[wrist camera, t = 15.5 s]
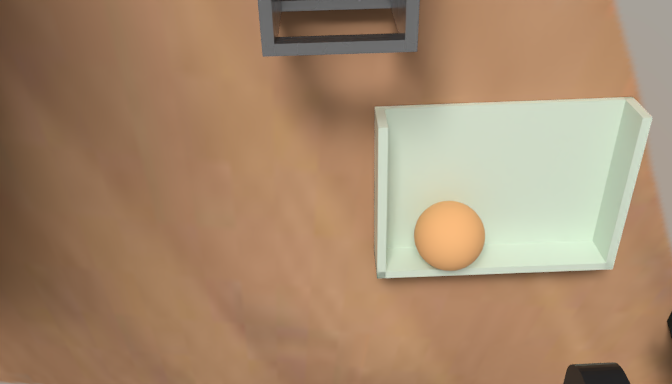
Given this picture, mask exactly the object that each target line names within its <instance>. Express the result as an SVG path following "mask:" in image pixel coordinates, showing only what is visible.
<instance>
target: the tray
mask: <svg viewBox="0 0 672 384" xmlns="http://www.w3.org/2000/svg"><path fill="white" fill-rule="evenodd" d="M652 118H653V117H652V116H651V115H650V114H649V113H648V112H647V111H646V110H645V109H644V108H643V107H642V106H641V105H640V104H639V103H638V102H637V101H636V100H635V99H634V98H633V97H618V98H591V99H564V100H538V101H511V102H484V103H458V104H431V105H404V106H378V107H375V143H374V256H375V264H376V273H377V278H402V277H427V276H453V275H478V274H504V273H530V272H555V271H581V270H606V269H613V266H614V262H615V258H616V254H617V251H618V247H619V243H620V239H621V236H622V232H623V228H624V224H625V221H626V217H627V213H628V209H629V205H630V202H631V198H632V194H633V190H634V187H635V183H636V179H637V175H638V171H639V168H640V164H641V160H642V156H643V153H644V149H645V145H646V141H647V137H648V134H649V130H650V126H651V122H652ZM442 201H456V202H460V203H463V204H465V205H467V206H469V207H470V208H472V209H473V210H474V211H475V212H476V213H477V215H478V216H479V217H480V219H481V221H482V223H483V226H484V230H485V242H484V246H483V249H482V251H481V253H480V255H479V256H478V258H477V259H476V260H475V261H474V262H473V263H472V264H470V265H469V266H467V267H465V268H463V269H460V270H455V271H445V270H440V269H437V268H435V267H433V266H431V265H430V264H428V263H427V262H426V261H425V260H424V259H423V258H422V257H421V256H420V254H419V252H418V250H417V248H416V245H415V241H414V230H415V226H416V223H417V220H418V218H419V217H420V215H421V214H422V213H423V212H424V211H425V210H426V209H427V208H428V207H430V206H432V205H433V204H436V203H438V202H442Z"/></svg>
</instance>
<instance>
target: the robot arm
mask: <svg viewBox="0 0 672 384" xmlns="http://www.w3.org/2000/svg"><path fill="white" fill-rule="evenodd" d="M564 384H630V382H629V380H628V378H627V376H626V374H625V373H624V371H623V369H622V368H621V367H620V366H619V365H618V364H617V363H592V364H572V365H570V366H569V367H568V368H567V371H566V375H565V379H564Z"/></svg>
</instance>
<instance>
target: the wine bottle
mask: <svg viewBox="0 0 672 384" xmlns="http://www.w3.org/2000/svg"><path fill="white" fill-rule="evenodd" d="M667 322H668V326H669V330H670V334H671V337H672V313H671V315H670V317H669V319H668V321H667Z"/></svg>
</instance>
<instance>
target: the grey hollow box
mask: <svg viewBox="0 0 672 384" xmlns="http://www.w3.org/2000/svg"><path fill="white" fill-rule="evenodd" d="M419 3H420V0H258V8H259V20H260V31H261V42H262V53H263V56H293V55H325V54H357V53H389V52H417V44H418V24H419ZM379 8H391V11H392V14H393V17H394V20H395V23H396V26H397V29H398V33H393V34H361V35H329V36H297V37H278V34H279V27H280V20H281V13H282V11H314V10H347V9H379Z"/></svg>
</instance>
